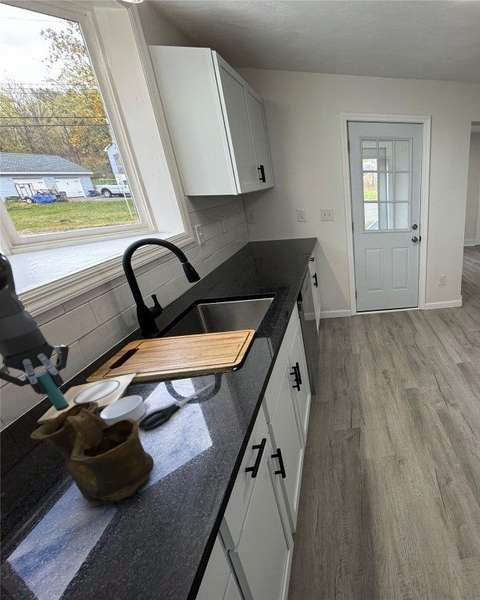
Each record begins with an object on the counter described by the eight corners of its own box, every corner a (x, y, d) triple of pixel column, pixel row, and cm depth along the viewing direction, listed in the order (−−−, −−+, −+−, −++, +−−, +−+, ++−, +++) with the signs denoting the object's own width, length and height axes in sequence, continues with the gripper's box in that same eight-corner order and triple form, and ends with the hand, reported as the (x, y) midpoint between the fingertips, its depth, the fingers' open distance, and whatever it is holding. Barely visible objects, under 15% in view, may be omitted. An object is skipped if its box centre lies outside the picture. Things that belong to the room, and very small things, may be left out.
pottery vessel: (184, 483, 66) (147, 411, 58) (126, 535, 57) (72, 458, 49) (120, 448, 76) (81, 382, 68) (62, 487, 67) (9, 417, 59)
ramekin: (104, 421, 85) (97, 408, 84) (143, 402, 91) (137, 390, 90) (110, 436, 80) (102, 423, 78) (151, 415, 86) (145, 403, 84)
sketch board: (38, 424, 86) (36, 421, 86) (73, 389, 100) (71, 386, 100) (116, 405, 91) (114, 402, 91) (138, 374, 105) (137, 372, 105)
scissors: (207, 380, 99) (135, 425, 83) (206, 378, 98) (134, 423, 82) (221, 385, 96) (149, 434, 80) (220, 383, 95) (147, 431, 79)
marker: (54, 412, 82) (32, 377, 77) (60, 406, 84) (38, 372, 79) (66, 409, 82) (44, 375, 78) (71, 403, 84) (50, 370, 80)
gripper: (47, 316, 81) (79, 371, 88) (-37, 343, 70) (7, 403, 77) (60, 320, 78) (91, 377, 85) (-27, 349, 67) (18, 412, 73)
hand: (51, 389), depth 81 cm, fingers closed on marker, 2 cm apart
